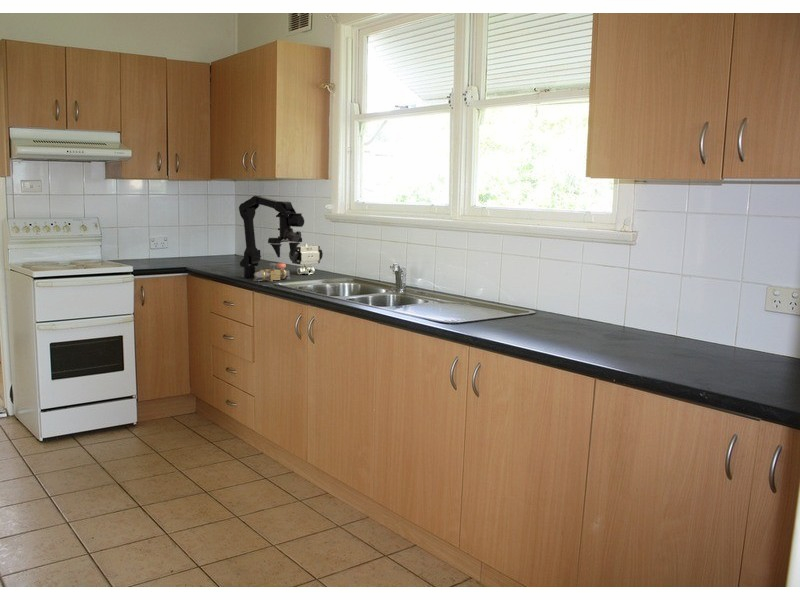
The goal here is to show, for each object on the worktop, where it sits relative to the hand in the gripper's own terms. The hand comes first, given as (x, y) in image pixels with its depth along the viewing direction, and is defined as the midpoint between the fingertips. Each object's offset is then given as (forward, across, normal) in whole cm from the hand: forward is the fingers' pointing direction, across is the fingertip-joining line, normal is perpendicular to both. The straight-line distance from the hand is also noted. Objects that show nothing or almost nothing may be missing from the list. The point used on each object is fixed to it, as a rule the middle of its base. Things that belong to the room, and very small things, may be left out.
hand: (285, 256), depth 371 cm
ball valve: (+13, +28, +14) cm, 34 cm away
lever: (+7, -2, +5) cm, 9 cm away
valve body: (+13, -1, +9) cm, 16 cm away
